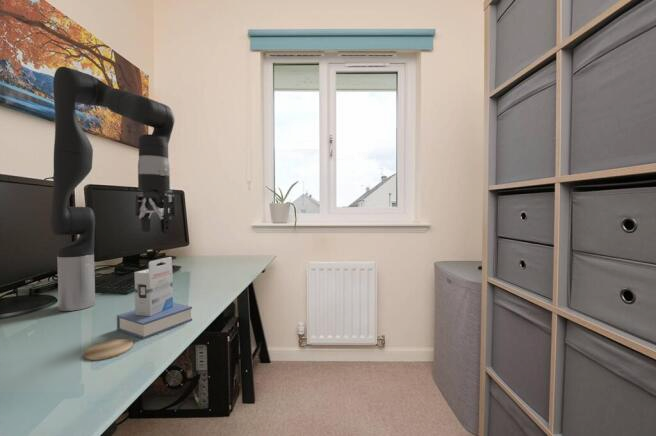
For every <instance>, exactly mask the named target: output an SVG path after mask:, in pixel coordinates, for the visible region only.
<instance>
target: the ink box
mask: <svg viewBox="0 0 656 436" xmlns="http://www.w3.org/2000/svg"><path fill="white" fill-rule="evenodd" d="M172 259H173V258H172V257H171V256H169V257H163V258H159V259H154V260H149V262H148V268H147V269H143V270H138V271H134V273H133V274H134V302H135V304H134V305H135V307H134V308H135V309H134V310H135V314H136V315H141V316H152V315H154V314H157V313H159V312H161V311H163V310H166V309H168V308H170V307H172V306H173V302H174V291H173V290H174V289H173V288H174V286H173V283H174V282H173V280H174V279H173V263H172V261H173V260H172ZM160 263H164V264H161V265H158V264H160Z"/></svg>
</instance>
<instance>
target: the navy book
mask: <svg viewBox="0 0 656 436" xmlns="http://www.w3.org/2000/svg"><path fill="white" fill-rule="evenodd" d="M192 309H193V307H192V305H191V306H190V305H187V304H186V305H185V304H183V303H182V304H181V303H177V302H174V301H173V306H172V307H170V308H168V309H166V310H163V311H161V312H159V313H157V314H154V315H152V316H141V315H136V314H135V309H133V310H130V311H126V312H124V313H120V314H116V330H117V331H118V332H121V333H125V334H128V335H131V336H133V337H136V338H139V339H142V340H145V339H147V338H150V337H152V336H155V335H157V334H160V333H163V332H165V331H168V330H170V329H173V328H176V327H178V326H181V325H184V324H186V323H188V322H191V321H193V318H192Z"/></svg>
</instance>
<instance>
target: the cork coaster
mask: <svg viewBox="0 0 656 436" xmlns="http://www.w3.org/2000/svg"><path fill="white" fill-rule="evenodd" d="M133 346H134V342H133V340H131V339H129V338H116V339H111V340H106V341H102V342H100V343H97V344H95V345H93V346H90V347H89V348H87V349H86V350H85V351H84V352H83V356H84V357H83V358H84V359H86V360H88V361H103V360H107V359H112V358H114V357H115V358H116V357H118V356H121V355H124V354H126V353H127V352H129V351H130V350H131V349H133Z"/></svg>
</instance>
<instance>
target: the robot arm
mask: <svg viewBox="0 0 656 436" xmlns="http://www.w3.org/2000/svg"><path fill="white" fill-rule="evenodd" d="M52 84H53V85H52V86H53V89H52V90H53V100H54V101H53V102H54V115H55V117H54V118H55V119H54V121H55V124H54V141H53V142H54V144H53V145H54V146H53V186H52V196H51V197H52V198H51V203H50V204H51V205H50V213H49V229H50V231H51V232H50V233H52V234H53V235H55V236H76V235H79V236H78V238H77V239H76V240H74V241H71V243H68V244H65V245H62V246H60V247H58V248H57V249H56V257H57V259H56V260H57V284H58V285H57V291H58V293H57V296H58V297H57V298H58V303H57V304H58V311H62V312H69V311H70V312H71V311H72V312H73V311H79V310H84V309H87V308H91V307H93V306H95V305H96V295H95V294H96V286H95V285H96V282H95V279H96V277H95V275H96V274H95V230H96V229H95V227H96V216H95V212H94V210H93V208H91V207H90V206H89V207H88V206H68V203H69V200H70V197H71V195H72V193H73V192H74V190H75V189H76V188H77V187H78V186H79V185H80V184H81V183H82V182H83V180H85V179H86V178H87V176H88V175H89V174H90V172H91V171H92V168H93V157H94V155H93V154H94V149H93V145H92V144H91V142H90V140H89V137H88V136H87V135H86V133H85V132H84V130H83V128H82V126H81V125H80V123H79V120H78V117H77V113H76V112H77V111H76V103H77V104H81V105H85V106H94V107H95V106H96V107H104V108H108V109H109V110H110V111H111V112H112V113H114V114H117V115H119V116H122V117H124V118H127V119H130V120H131V121H133V122H135V123H137V124H138V123H139V124H140V125H144V126H147V127H150V128H152V129H153V130H152V133H150V134H148V133H147V134H141V135H140V136H139V138H138V162H137V186H138V187H137V189H138V191H140V192H143V193H142V195H141V194H140V195H137V194H136V195H135V216H136V217H138V218H139V219H140V232H141V233H148V232H149V233H150V232H151V216H152V214H153V213H155V214H157V215H158V218H159V233H160V234H169V232H170V220H171V219H172V218H175V217H176V203H175V195H174V194H167V192H169V191H170V190H171V189H170V187H171V183H170V181H171V180H170V178H171V171H170V170H171V168H170V162H169V161H170V160H169V143H170V139H171V136H172V132H173V129H174V126H175V120H176V119H175V115H174V111H173V110H172V107H170V106H169V105H166V104H164V103H162V102H159V101H156V100H153V99H151V98H149V97H147V96H142V95H139V94H135V93H133V92H130V91H128V90H125V89H120V88H114V87H113V86H110V85H108V84H107V83H105V82H103V80H101V79H98V78H97V77H96V76H94V75H92V74H90V73H89V74H88V73H85V72H83V71H80V70H76V69H73V68H71V67H68V66H59V67H58V68H57V69H56V70H55V72H54V75H53V83H52Z"/></svg>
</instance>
